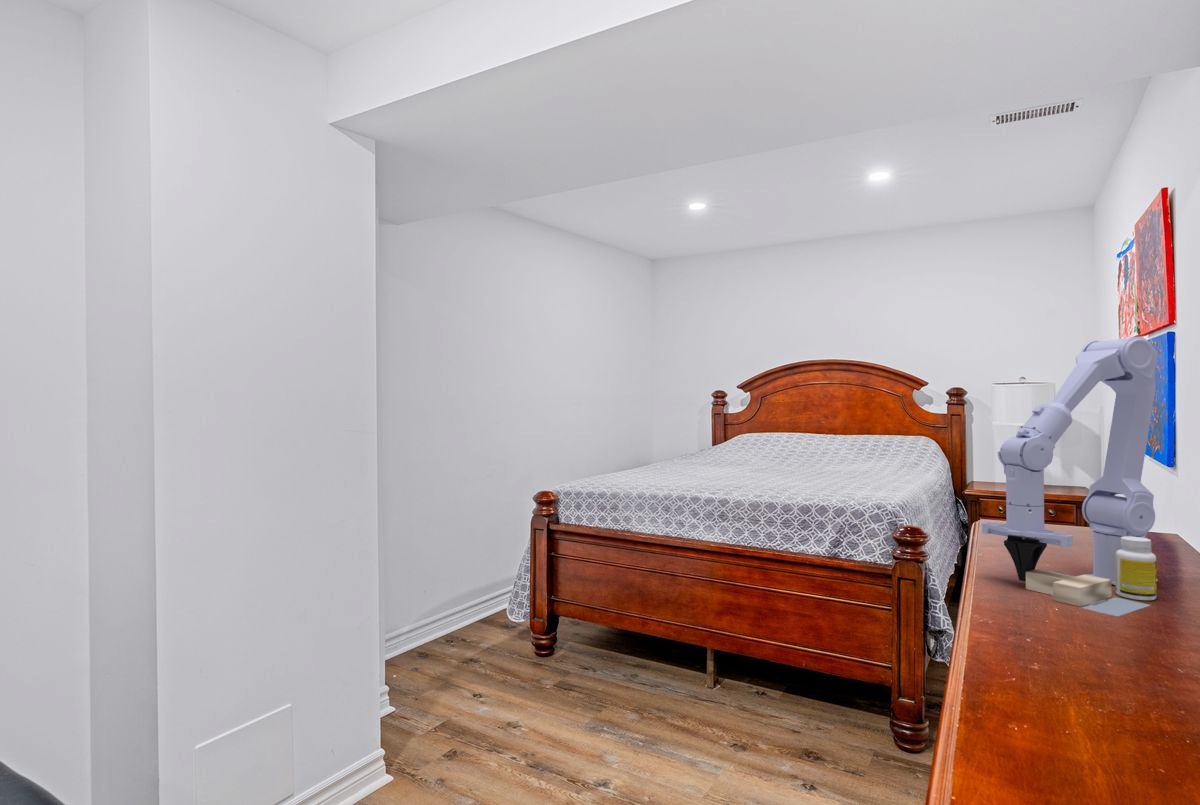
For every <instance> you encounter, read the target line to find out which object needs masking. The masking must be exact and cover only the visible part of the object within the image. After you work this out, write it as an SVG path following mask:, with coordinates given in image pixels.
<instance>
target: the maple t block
mask: <svg viewBox="0 0 1200 805" xmlns="http://www.w3.org/2000/svg"><path fill="white" fill-rule="evenodd" d="M1025 590H1029V591H1033V592H1037V593H1038V592H1039V593H1042V594H1047V595H1050V596H1051V595H1053V596H1052V600H1053V602H1054V601H1055V602H1059V603H1062V604H1066V605H1067V604H1068V605H1071V606H1075V607H1078V608H1082V607H1085V606H1088V604H1091V603H1094V602H1098V601H1101V600H1108V599H1111V598H1113V597H1112V584H1111V579H1106V578H1101V577H1096V576H1091V575H1089V574H1087V573H1084V574H1081V575H1076V576H1075V575H1070V574H1066V573H1065V574H1064V573H1059V572H1055V571H1051V570H1046V569H1041V568H1035V570H1032V571H1027V572H1026V582H1025Z"/></svg>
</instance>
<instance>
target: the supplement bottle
mask: <svg viewBox="0 0 1200 805" xmlns="http://www.w3.org/2000/svg"><path fill="white" fill-rule="evenodd" d="M1121 546H1122V549H1120V550H1118V551H1117V552H1116V585H1115V593H1116V594H1117V595H1118V596H1120V597H1122V598H1126V599H1129V600H1134V601H1135V600H1136V601H1154V600H1156V599H1157V592H1158V591H1157V590H1158V589H1157V584H1158V583H1157V582H1156V579H1158V578H1157V556H1156V555H1155V554H1154V553H1153V552H1152V551H1151V552H1149V549H1151V550H1152V540H1151V539H1149V538H1147V537H1146V538H1141V537H1132V536H1124V537H1121Z"/></svg>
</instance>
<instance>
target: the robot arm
mask: <svg viewBox="0 0 1200 805" xmlns="http://www.w3.org/2000/svg"><path fill="white" fill-rule="evenodd" d="M1158 355H1159V353H1158V351H1157V349H1155V347H1154V346H1153V345H1152V344H1151V343H1150V342H1149V340H1148V339H1146V338H1144V337H1142V336H1132V337H1129V338H1119V339H1110V340H1108V339H1107V340H1093V341H1089V342H1087V343H1086V344H1085V345H1084V346H1083V348H1082V349H1081V351H1080V352H1079V353H1078V354H1077V355H1076V356H1075V363H1076V364H1075V366H1074V368H1073V369H1072V371H1071V372H1070V374H1069V375H1068V376H1067V378H1066V379H1065V381H1064V382H1063V384H1062V385H1061V387H1060V389H1059V390H1058V392H1057V393H1055V396H1054V398H1053V399H1052V400H1051V402H1047V403H1046V402H1045V403H1041V404H1039V405H1038V406H1035V407H1034V408H1033V409H1032V414H1031V415H1030V417H1029V418H1028V420H1027V421H1025V423H1024V424H1023V426H1022V427H1021V428H1019V429H1018V430H1017V431H1016V432H1017V433H1016V435H1015V436H1011V437H1008V438H1007V439H1005V441H1004V442H1002V444H1001V447H1000V450H999V451H997V457H998V460H999V462H1000V463H1001V465H1002V466H1003V473H1004V475H1005V496H1006V497H1005V502H1006V504H1005V507H1006V511H1005V512H1006V513H1005V514H1006V516H1005V517H1006V522H1005V523H1000V522H990V521H987V522H986V521H985V522H981V530H982V531H981V533H982V534H985V535H994V536H995V535H996V536H1002V537H1007V538H1006V540H1003V545H1004V547H1005V548H1006V550H1007V551H1008V553H1009V555H1010V557H1011V559H1012V561H1013V564H1014V567H1015V570H1016V574H1017V578H1018V580H1019V581H1021V582H1025V583H1026V572H1027V571H1032V570H1036V566H1037V565H1038V562H1039V560H1040V558H1041V556H1042V554H1043V552H1044V551H1045V549H1046V548H1047V547H1048V544H1049V545H1054V546H1059V547H1061V548H1071V547H1073V546H1074V545H1073V544H1074V543H1073V540H1074V538H1073V537H1074V535H1073V534H1069V533H1063V532H1059V531H1054V530H1050V529H1045V472H1044V470H1045V469H1046V468H1047V467H1048V466H1049V465H1050V464H1052V462H1053V458H1054V449H1055V448H1056V444H1057V442H1058V441H1059V440H1060V438H1062V436H1063V435H1064V433H1065V432H1066V431H1067V430H1068V428H1069V427H1070V426H1071V425H1072V423H1073V417H1072V414H1071V412H1073V411H1074V409H1075V408H1076V407H1078V405H1080V403H1081V402H1082V401H1083V400H1084V399H1085V398H1086V396H1087V395H1089V393H1090V392H1091V391H1092V390H1093V389H1094V388H1095V387H1096V386H1097V384H1098V383H1099V382H1102V383H1103V384H1105V385H1106V386H1108V387H1110V388H1111V389H1112V391H1114V392H1115V399H1114V406H1113V412H1112V418H1111V423H1110V424H1111V425H1110V430H1109V437H1108V442H1107V448H1106V453H1105V454H1106V456H1105V461H1104V468H1103V475H1102V476H1101V477H1100V478H1099V479H1097V480H1096V481H1093V483H1091V485H1090V486H1089V489H1088V491H1089V492H1088V494H1087V496H1086V497H1085V499H1084V500H1083V502H1082V506H1081V513H1082V517H1083V518H1084V520H1085V521H1086V522H1087V523H1088V524H1089V529H1090V530H1092V550H1093V552H1092V556H1093V557H1092V558H1093V563H1092V565H1093V566H1092V567H1093V571H1092V573H1090V574H1088V575H1091V576H1096V577H1101V578H1106V579H1111V586H1112V585H1113V586H1116V552H1117V551H1118V550H1120V549H1122V546H1121V537H1124V536H1132V537H1141V538H1147V536H1148V535H1147V534H1148V532H1150V531H1151V529H1152V528H1153V527H1154V524H1155V521H1156V513H1155V512H1156V511H1155V508H1154V497H1155V495H1154V494H1153V493H1152V492H1151V491H1150V490H1149V489H1148V488H1147V487H1146V486H1145V485H1144V484H1143V483H1142V475H1143V468H1144V463H1145V456H1146V450H1147V443H1148V438H1149V432H1150V424H1151V418H1152V413H1153V406H1154V401H1155V394H1156V388H1157V386H1156V379H1155V378H1156V377H1155V375H1156V369H1157V368H1156V367H1157V362H1158ZM1118 495H1124V496H1118ZM1149 552H1151V553H1152V548H1151V549H1149ZM1157 582H1158V578H1157V579H1156V583H1157Z"/></svg>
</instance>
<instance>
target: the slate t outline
mask: <svg viewBox="0 0 1200 805" xmlns="http://www.w3.org/2000/svg"><path fill="white" fill-rule="evenodd" d="M1050 596H1051V597H1053V595H1050ZM1150 606H1152V604H1148V603H1143V602H1138V601H1135V600H1131V599H1127V598H1126V599H1125V598H1120V597H1116V596H1115V597H1111V598H1108V599H1104V600H1101V601H1098V602H1094V603H1091V604H1088V605H1084V606H1081V609H1084V610H1088V611H1091V612H1096V613H1100V614H1104V615H1109V616H1113V617H1117V618H1118V617H1121V616H1124V615H1127V614H1130V613H1132V612H1133V613H1134V612H1136V611H1139V610H1143V609H1144V608H1148V607H1150Z"/></svg>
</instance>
